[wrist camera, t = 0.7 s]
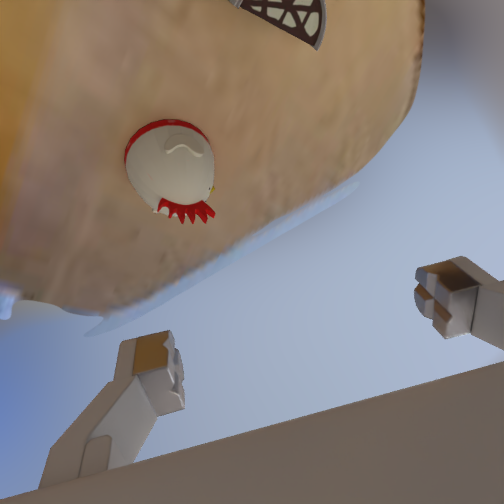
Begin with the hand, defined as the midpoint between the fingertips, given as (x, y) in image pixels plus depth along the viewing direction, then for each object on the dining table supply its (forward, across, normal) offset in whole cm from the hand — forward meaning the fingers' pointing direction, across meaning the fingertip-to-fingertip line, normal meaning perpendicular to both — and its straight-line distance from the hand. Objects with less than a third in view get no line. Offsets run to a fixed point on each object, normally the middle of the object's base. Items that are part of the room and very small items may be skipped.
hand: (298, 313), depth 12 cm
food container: (+47, -11, -13) cm, 50 cm away
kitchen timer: (+53, +7, +8) cm, 54 cm away
